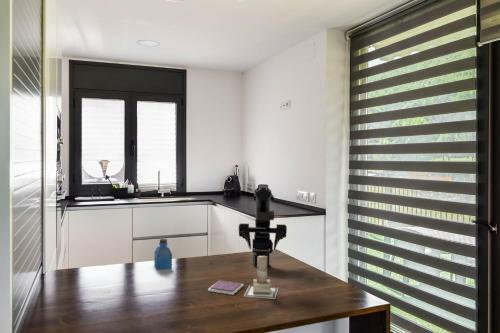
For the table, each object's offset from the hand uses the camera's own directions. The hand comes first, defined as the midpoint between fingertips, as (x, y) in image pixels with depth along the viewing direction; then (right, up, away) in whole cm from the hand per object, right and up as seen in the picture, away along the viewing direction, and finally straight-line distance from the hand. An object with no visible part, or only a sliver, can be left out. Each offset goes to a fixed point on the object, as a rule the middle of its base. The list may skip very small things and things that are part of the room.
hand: (262, 249), depth 147 cm
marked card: (-1, -14, -8) cm, 16 cm away
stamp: (-1, -14, -7) cm, 15 cm away
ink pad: (-14, -13, -5) cm, 20 cm away
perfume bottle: (-42, -12, +21) cm, 49 cm away
